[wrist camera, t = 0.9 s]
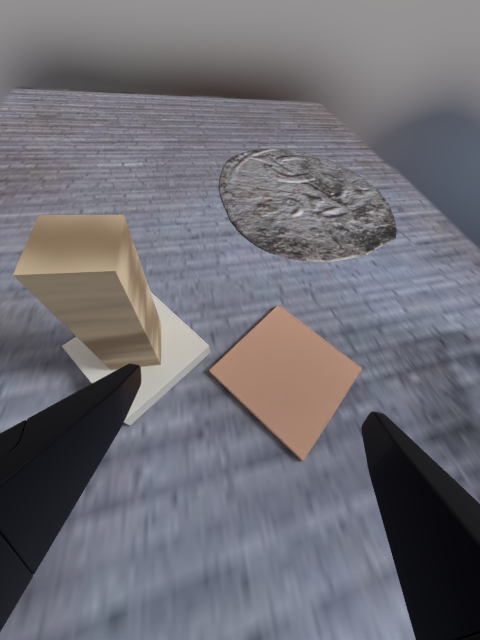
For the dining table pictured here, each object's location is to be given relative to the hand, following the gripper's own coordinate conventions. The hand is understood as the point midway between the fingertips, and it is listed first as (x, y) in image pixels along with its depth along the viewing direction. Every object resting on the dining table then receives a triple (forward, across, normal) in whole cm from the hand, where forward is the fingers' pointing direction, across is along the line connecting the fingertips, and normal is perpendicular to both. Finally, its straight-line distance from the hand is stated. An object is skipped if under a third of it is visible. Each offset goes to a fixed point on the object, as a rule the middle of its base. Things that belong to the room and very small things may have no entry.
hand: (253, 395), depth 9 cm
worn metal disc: (+46, -6, -7) cm, 46 cm away
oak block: (+12, +11, +9) cm, 18 cm away
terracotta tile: (+14, -5, +10) cm, 18 cm away
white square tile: (+13, +11, +10) cm, 20 cm away
